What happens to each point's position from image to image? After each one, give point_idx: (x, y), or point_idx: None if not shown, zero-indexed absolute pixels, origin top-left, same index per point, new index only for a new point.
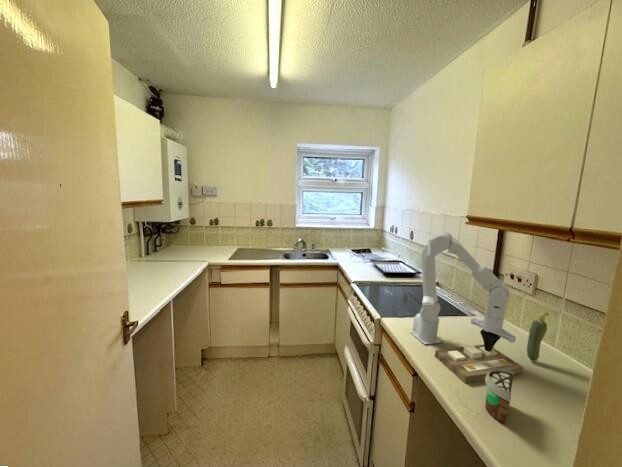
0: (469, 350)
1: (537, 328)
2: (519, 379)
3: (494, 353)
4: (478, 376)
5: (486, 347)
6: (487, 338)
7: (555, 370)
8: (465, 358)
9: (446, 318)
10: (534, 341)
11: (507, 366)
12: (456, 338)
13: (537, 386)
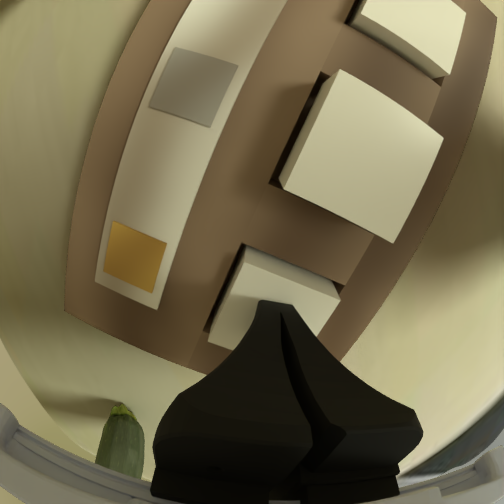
0: (387, 97)
1: None
2: (66, 217)
3: (217, 317)
4: None
5: (282, 316)
6: (298, 397)
7: (75, 401)
8: (356, 17)
9: (466, 421)
10: None
11: (98, 232)
12: (449, 337)
13: (20, 235)
